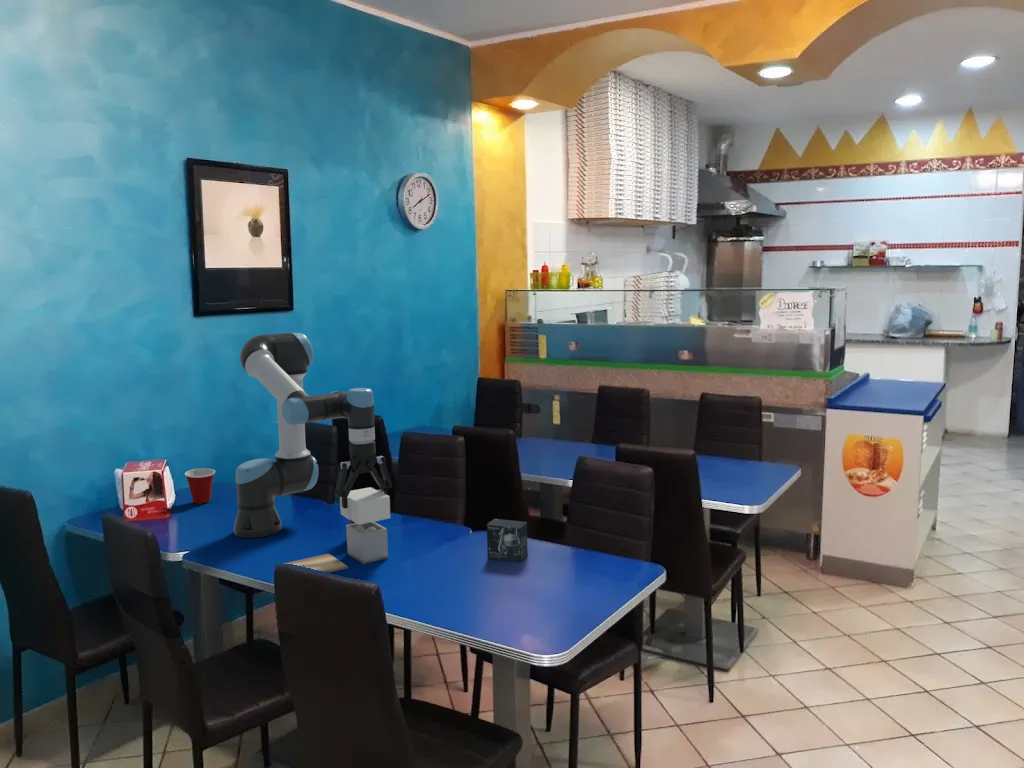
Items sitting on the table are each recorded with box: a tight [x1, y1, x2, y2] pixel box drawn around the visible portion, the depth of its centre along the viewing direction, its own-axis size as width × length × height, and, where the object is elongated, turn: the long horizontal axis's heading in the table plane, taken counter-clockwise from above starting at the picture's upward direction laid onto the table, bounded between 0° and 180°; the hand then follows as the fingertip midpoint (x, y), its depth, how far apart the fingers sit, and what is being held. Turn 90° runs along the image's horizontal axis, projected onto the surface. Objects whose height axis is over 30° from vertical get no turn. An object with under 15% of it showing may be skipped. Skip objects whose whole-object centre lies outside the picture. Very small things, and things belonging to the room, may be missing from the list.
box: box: [486, 518, 529, 563], centre depth 242 cm, size 11×7×10 cm, turn 68°
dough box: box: [345, 521, 389, 565], centre depth 246 cm, size 11×8×9 cm
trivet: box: [283, 553, 349, 574], centre depth 239 cm, size 14×14×1 cm
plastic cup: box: [184, 468, 216, 505], centre depth 311 cm, size 11×11×12 cm
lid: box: [339, 486, 391, 525], centre depth 245 cm, size 13×10×7 cm
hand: (365, 515), depth 245 cm, fingers closed on lid, 10 cm apart
